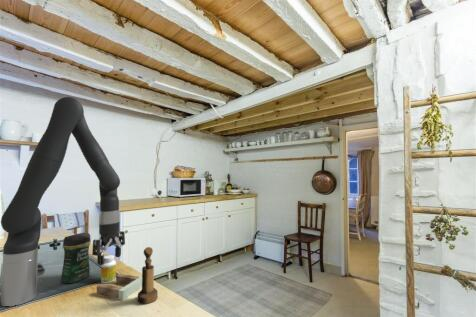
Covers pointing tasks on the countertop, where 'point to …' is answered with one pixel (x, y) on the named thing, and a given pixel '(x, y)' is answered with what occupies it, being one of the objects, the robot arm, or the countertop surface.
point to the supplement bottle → (108, 269)
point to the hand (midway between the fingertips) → (109, 260)
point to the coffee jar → (76, 257)
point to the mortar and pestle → (147, 280)
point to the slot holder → (118, 292)
